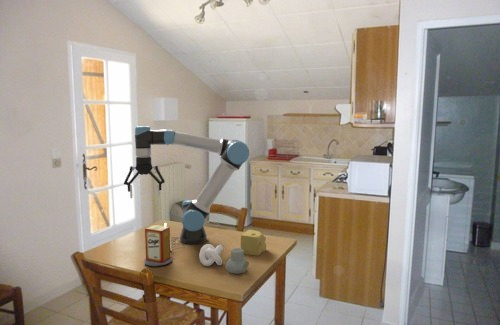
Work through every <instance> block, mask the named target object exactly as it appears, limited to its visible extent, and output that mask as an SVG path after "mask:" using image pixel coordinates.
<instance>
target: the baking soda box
mask: <svg viewBox="0 0 500 325" xmlns="http://www.w3.org/2000/svg"><path fill="white" fill-rule="evenodd" d="M170 228H171V227H170V226H166V227H164V225H161V224H160V225H159V224H157V225H156V224H152V225H150V226H148V227H146V228H144V236H145V237H144V239H145V241H144V243H145V259H146V260H147V261H153V262H159V263H164V262H165V261H167V260H169V259H170V258H171V257H172V256H171V253H170V248H171V231H170V230H171V229H170ZM170 256H171V257H170Z"/></svg>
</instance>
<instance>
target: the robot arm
mask: <svg viewBox="0 0 500 325" xmlns="http://www.w3.org/2000/svg"><path fill="white" fill-rule="evenodd" d="M134 141H135V143H134V144H135V164H136V165H135V166H134V165H130V166H129V172H128V173H127V175H126V178H125V180H124V182H123V185H126V186H127V192H128V193H129V196H130V199H132V198H133V185H132V183H133V182H134V180H136V178H137V177H138V176H139V175H142V176H143V175H150V176H151V177H152V178H153V179H154V181H155V182H156V183H157V198H160V191H162V184H164V183H165V179H164V177H163V175H162V173H161V172H160V170H159V165H158V164H156V165H152V147H151V146H152V145H155V146H156V145H163V146H164V145H166V146H168V145H172V146H173V145H174V146H178V147H183V148H190V149H193V150H194V149H195V150H199V151H204V152H209V153H213V154H218V156H220V162H219V165H217V167H216V169H215V170H214V172H213V173H212V174H211V176H210V178H208V180H207V182H206V184H205V185H204V187H203V189H202V190H201V191H200V193H199V194H198V195H197V197H196V199H189V200H188V199H185V200H184V201H182V205H181V207H182V214H181V220H180V221H181V223H182V229H181V232H180V236H179V241H180V243H183V244H186V245H187V244H188V245H194V244H202V243H205V242H206V241H207V238H208V237H207V236H208V234H207V232H206V230H205V226H204V224H205V221H206V219H207V218H208V216H209V214H210V213H211V211H210V209H211V207H212V205H213V203H214V202H215V201H216V199H217V197H218V196H219V195H220V193H221V192H222V190H223V188H224V187H225V186H226V184H227V183H228V181H229V180H230V178H231V177H232V175H233V174H234V172H236V171H239V170H240V169H241V167H242V165H244V164H245V162H247V160H248V159H249V157H250V148H249V147H248V145H247V144H246V143H245V142H244V141H241V140H238V139H226V138H221V139H217V138H211V137H206V136H201V135H195V134H191V133H185V132H182V131H175V130H173V129H166V128H162V129H159V130H158V129H151V127H150V126H149V125H148V126H147V125H145V126H144V125H143V126H142V125H140V126H139V125H138V126H136V127H135V129H134ZM152 169H153V170H154V171H155V172H156V173H157V175H158V177H157V176H156V175H155V174H154V173H153V171H152ZM134 170H136V173H135V174H134V176H133V177H131V175H132V174H133V173H132V172H133V171H134ZM130 177H131V179H130ZM159 178H160V179H159ZM129 179H130V180H129Z"/></svg>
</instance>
